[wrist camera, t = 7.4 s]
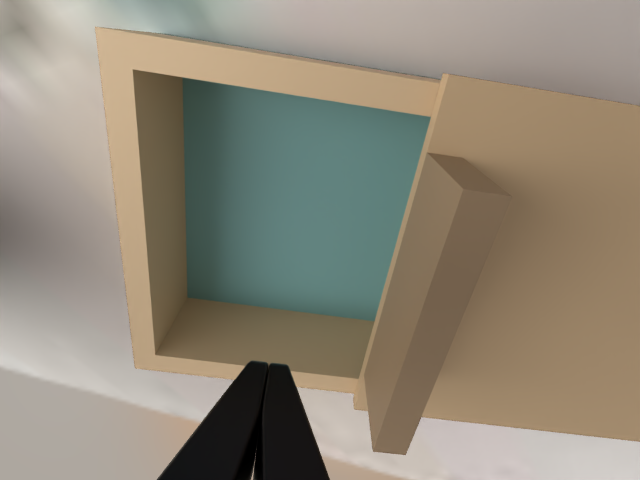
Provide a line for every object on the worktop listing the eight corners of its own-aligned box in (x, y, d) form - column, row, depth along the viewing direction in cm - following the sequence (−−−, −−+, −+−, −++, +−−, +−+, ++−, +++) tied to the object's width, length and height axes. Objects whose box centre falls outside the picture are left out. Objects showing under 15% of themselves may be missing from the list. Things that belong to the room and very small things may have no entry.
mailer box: (174, 303, 22) (134, 368, 17) (162, 33, 15) (95, 26, 11) (405, 332, 22) (425, 401, 18) (487, 87, 16) (548, 101, 12)
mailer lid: (353, 398, 18) (360, 488, 14) (443, 73, 11) (499, 83, 8) (635, 431, 19) (710, 523, 15) (876, 145, 12) (1116, 186, 8)
